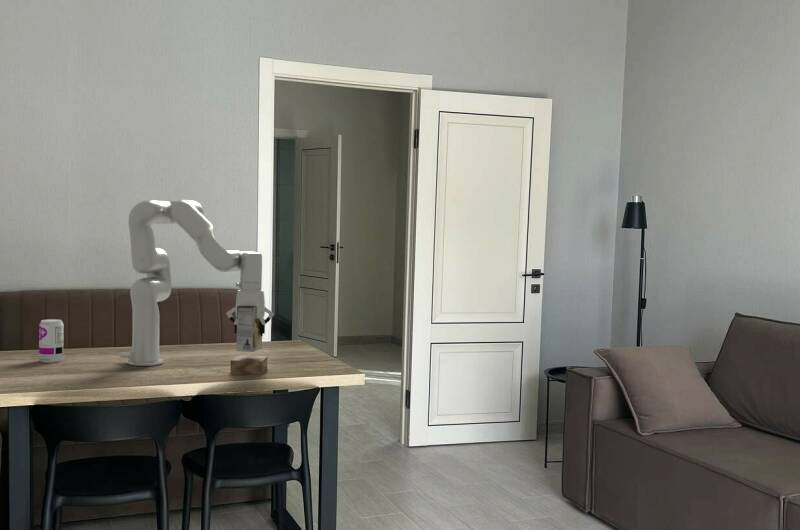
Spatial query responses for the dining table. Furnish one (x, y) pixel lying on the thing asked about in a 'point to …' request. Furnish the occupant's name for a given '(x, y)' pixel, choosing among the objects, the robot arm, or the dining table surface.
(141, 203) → the robot arm
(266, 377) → the dining table surface
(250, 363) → the walnut block
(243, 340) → the coffee box
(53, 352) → the supplement can
